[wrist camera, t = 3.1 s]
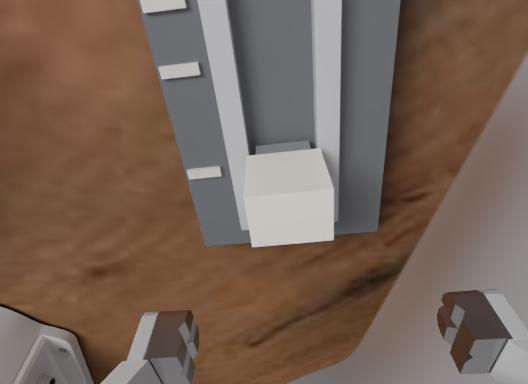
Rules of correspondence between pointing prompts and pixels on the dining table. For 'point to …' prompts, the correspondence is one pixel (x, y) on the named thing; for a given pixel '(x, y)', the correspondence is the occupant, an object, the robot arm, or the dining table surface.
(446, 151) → the dining table surface
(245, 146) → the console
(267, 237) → the fader
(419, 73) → the dining table surface
